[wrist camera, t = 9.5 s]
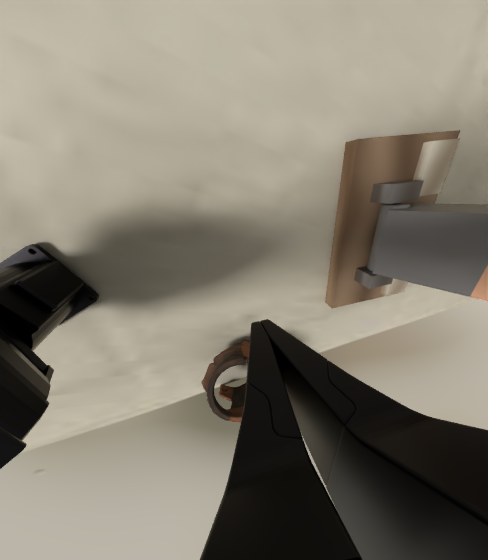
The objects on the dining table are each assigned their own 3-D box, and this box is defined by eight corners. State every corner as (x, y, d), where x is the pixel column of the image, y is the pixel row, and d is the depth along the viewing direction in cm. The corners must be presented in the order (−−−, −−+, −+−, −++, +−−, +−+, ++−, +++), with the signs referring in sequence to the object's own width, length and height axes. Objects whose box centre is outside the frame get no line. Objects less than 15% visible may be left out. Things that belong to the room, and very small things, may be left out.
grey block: (360, 272, 21) (498, 305, 14) (374, 207, 18) (559, 212, 11) (373, 260, 23) (497, 285, 17) (388, 201, 20) (549, 202, 13)
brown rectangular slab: (325, 302, 26) (344, 319, 23) (345, 142, 17) (380, 133, 14) (393, 286, 28) (420, 300, 24) (442, 134, 19) (493, 123, 16)
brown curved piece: (200, 387, 29) (190, 426, 21) (215, 327, 30) (211, 341, 22) (275, 403, 30) (293, 445, 22) (288, 343, 31) (310, 363, 22)
